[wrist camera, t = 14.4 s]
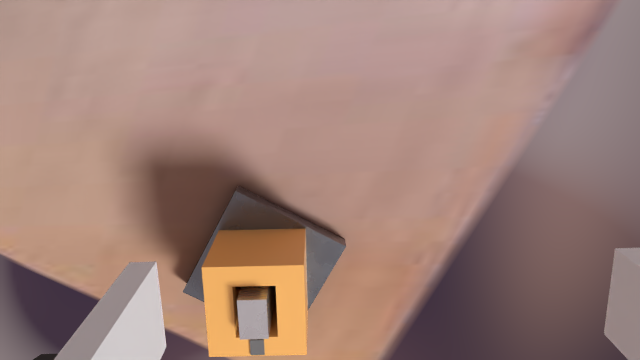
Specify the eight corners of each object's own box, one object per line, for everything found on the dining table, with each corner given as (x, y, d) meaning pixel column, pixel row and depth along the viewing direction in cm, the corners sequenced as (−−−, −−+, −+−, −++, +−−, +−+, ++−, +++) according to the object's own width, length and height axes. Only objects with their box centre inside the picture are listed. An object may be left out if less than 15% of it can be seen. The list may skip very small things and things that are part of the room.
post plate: (186, 283, 47) (155, 346, 38) (238, 185, 45) (218, 226, 35) (289, 332, 48) (284, 404, 39) (344, 239, 46) (352, 292, 37)
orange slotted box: (218, 230, 44) (201, 268, 37) (305, 228, 44) (303, 265, 37) (224, 308, 46) (208, 358, 39) (307, 306, 46) (306, 355, 39)
